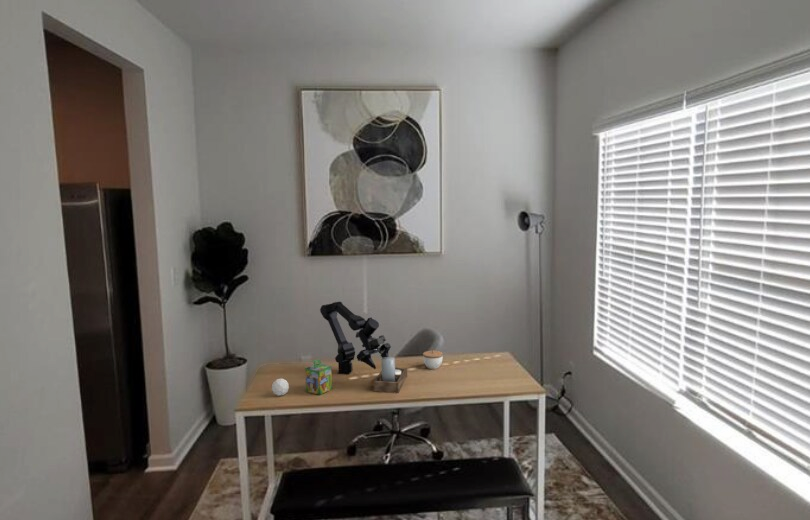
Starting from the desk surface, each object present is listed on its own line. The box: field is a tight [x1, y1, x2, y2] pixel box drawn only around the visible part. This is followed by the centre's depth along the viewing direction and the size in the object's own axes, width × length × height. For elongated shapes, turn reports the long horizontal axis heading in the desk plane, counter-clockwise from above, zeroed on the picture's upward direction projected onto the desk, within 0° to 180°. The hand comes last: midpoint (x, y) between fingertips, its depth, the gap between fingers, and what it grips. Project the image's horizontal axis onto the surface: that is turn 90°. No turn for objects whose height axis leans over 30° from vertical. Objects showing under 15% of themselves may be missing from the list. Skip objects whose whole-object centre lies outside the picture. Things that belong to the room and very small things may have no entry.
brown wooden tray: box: [373, 366, 408, 394], centre depth 234 cm, size 12×22×5 cm, turn 169°
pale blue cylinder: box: [381, 356, 396, 382], centre depth 229 cm, size 6×6×13 cm
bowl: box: [395, 369, 401, 375], centre depth 240 cm, size 8×8×3 cm
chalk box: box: [305, 358, 333, 396], centre depth 226 cm, size 9×9×15 cm
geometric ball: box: [271, 378, 290, 397], centre depth 222 cm, size 8×8×8 cm
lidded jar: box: [422, 349, 444, 370], centre depth 258 cm, size 11×11×9 cm
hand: (382, 366), depth 232 cm, fingers open, 9 cm apart
